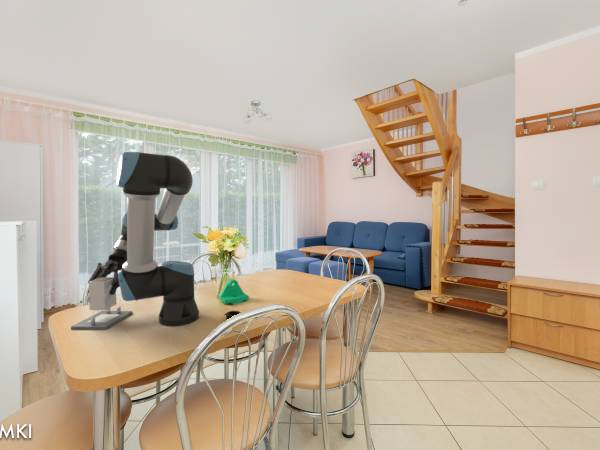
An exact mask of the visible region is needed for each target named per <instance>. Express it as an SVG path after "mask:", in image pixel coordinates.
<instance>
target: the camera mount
mask: <svg viewBox="0 0 600 450" xmlns="http://www.w3.org/2000/svg"><path fill="white" fill-rule="evenodd" d="M219 300H220V301H221V302H222V303H224V304H232V305H237V304H242V303H243V301H248V300H249V295H248V294H246V293H245V292H244V290H243V289H242V288H241V286H240V284H239V282H238V281H237V280H235V279H233V278H231V279H229V280H228V281H227V282H226V285H225V286H224V287H223V290H222V291H221V293H220V294H219Z"/></svg>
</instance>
